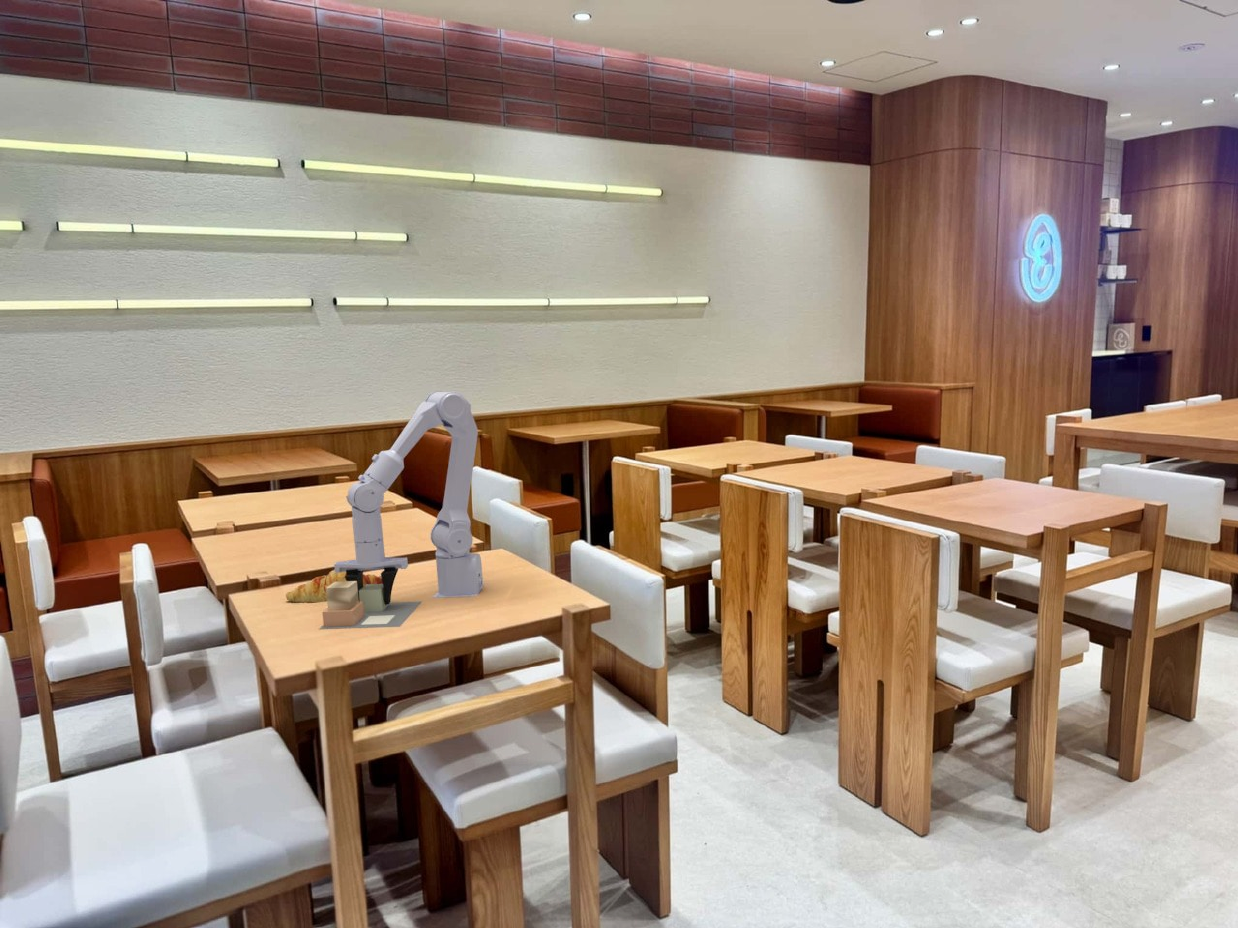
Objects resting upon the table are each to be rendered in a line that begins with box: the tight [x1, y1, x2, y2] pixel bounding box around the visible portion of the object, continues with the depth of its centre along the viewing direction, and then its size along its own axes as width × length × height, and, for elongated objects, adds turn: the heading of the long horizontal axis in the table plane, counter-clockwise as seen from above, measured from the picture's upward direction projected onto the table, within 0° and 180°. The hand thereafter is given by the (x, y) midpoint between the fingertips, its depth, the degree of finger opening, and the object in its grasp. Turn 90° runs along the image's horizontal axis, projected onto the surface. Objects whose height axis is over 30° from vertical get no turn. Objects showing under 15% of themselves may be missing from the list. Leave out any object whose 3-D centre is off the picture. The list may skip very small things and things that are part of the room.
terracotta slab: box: [321, 602, 365, 627], centre depth 166 cm, size 6×6×3 cm
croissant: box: [285, 569, 383, 604], centre depth 185 cm, size 21×10×8 cm, turn 114°
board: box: [318, 601, 423, 630], centre depth 169 cm, size 16×16×1 cm
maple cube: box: [326, 581, 359, 610], centre depth 165 cm, size 4×4×4 cm
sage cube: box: [359, 584, 389, 612], centre depth 174 cm, size 4×4×4 cm
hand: (374, 603), depth 174 cm, fingers closed on sage cube, 5 cm apart
